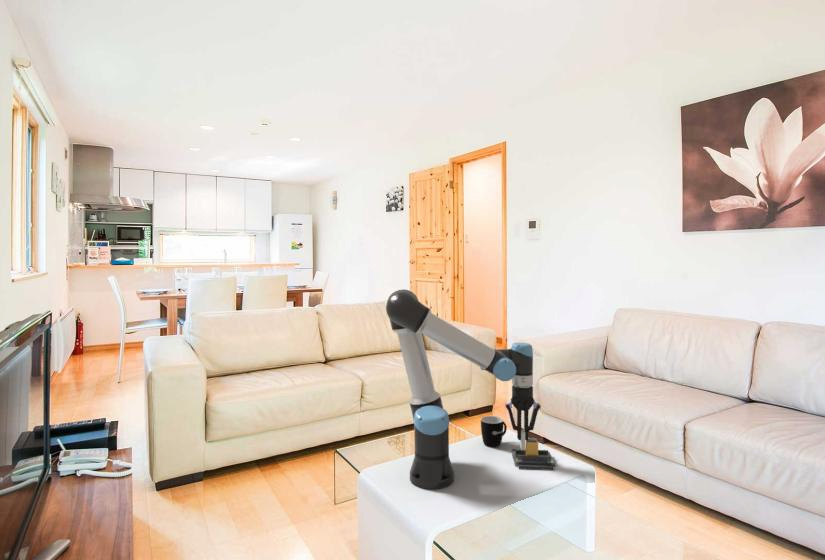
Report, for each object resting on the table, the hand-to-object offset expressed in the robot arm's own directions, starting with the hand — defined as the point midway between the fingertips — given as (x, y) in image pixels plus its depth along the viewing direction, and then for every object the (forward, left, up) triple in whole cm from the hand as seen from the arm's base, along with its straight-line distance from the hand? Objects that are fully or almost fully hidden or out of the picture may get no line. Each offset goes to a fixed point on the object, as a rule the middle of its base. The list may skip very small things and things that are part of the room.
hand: (522, 448), depth 175 cm
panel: (+4, 0, -5) cm, 6 cm away
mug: (-9, +16, -5) cm, 19 cm away
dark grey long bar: (+4, -7, -5) cm, 9 cm away
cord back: (+3, +7, -5) cm, 9 cm away
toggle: (+3, 0, -3) cm, 5 cm away
